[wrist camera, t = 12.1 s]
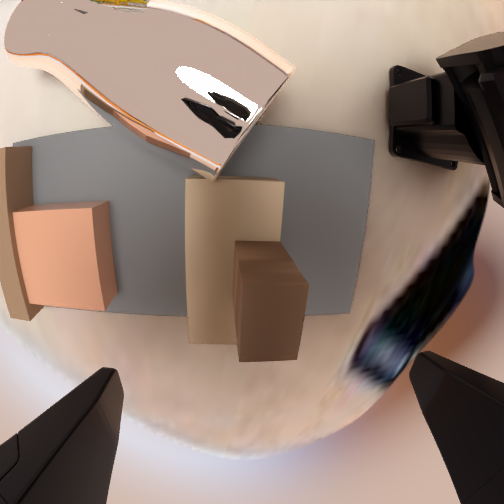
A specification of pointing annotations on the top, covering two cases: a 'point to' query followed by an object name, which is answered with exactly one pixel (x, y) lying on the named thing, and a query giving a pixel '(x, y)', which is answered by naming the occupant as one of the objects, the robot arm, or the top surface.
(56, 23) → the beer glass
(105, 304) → the tile
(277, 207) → the two-tone stepped block
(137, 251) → the slate board
